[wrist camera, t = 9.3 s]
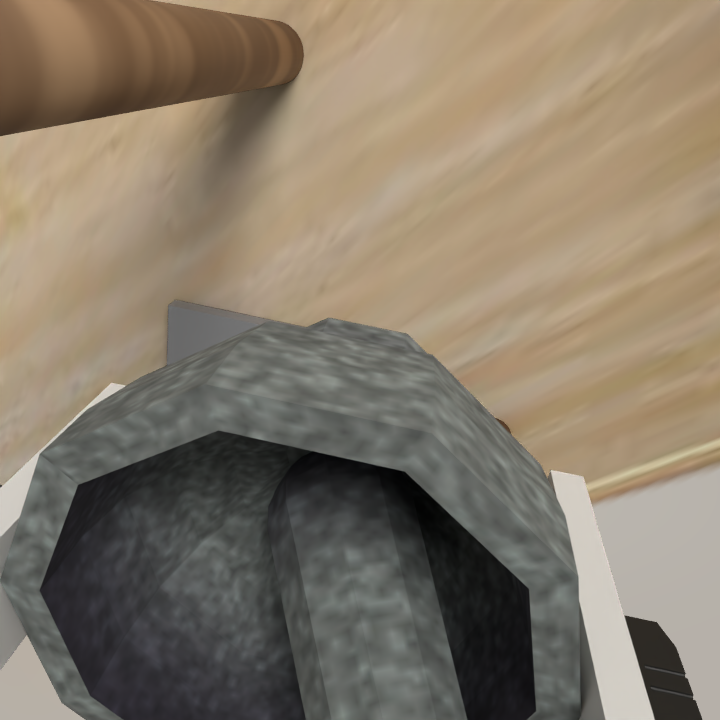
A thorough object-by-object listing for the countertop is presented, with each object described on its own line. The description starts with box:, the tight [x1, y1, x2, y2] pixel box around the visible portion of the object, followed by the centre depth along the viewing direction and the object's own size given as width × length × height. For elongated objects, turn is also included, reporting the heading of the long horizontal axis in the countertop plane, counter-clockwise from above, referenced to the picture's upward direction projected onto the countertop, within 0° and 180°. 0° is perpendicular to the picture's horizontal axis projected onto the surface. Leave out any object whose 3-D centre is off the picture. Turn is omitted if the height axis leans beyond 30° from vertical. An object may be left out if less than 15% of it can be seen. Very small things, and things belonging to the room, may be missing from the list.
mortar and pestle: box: [0, 318, 581, 720], centre depth 11 cm, size 11×9×12 cm
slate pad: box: [167, 300, 306, 365], centre depth 34 cm, size 11×12×1 cm
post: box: [0, 0, 304, 136], centre depth 15 cm, size 3×3×26 cm
